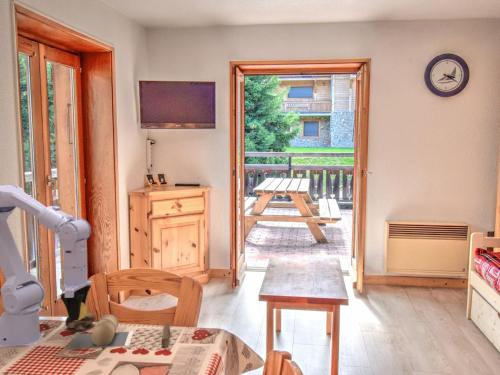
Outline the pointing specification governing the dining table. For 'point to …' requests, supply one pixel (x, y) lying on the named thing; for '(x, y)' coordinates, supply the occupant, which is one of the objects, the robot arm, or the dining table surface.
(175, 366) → the dining table surface
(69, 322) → the mushroom
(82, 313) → the ball
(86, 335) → the grey board
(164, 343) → the end rail
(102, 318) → the roller
